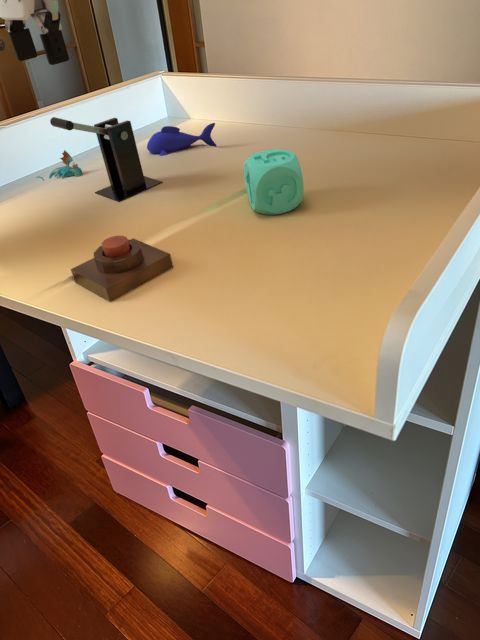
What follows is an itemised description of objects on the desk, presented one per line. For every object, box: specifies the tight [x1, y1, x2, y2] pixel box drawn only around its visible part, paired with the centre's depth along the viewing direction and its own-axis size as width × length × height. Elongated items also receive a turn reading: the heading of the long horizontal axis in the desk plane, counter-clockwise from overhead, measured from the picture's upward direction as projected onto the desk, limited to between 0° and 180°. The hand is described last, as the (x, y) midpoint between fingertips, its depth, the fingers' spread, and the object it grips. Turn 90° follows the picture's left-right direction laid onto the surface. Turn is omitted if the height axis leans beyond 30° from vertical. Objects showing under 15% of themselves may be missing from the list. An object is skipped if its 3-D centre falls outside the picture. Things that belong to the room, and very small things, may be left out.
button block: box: [70, 237, 174, 303], centre depth 80 cm, size 11×9×4 cm
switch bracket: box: [93, 117, 164, 203], centre depth 102 cm, size 10×8×13 cm
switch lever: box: [49, 116, 113, 140], centre depth 95 cm, size 12×5×2 cm, turn 136°
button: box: [101, 235, 130, 258], centre depth 78 cm, size 4×4×2 cm
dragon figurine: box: [35, 149, 83, 182], centre depth 114 cm, size 7×7×8 cm
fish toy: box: [146, 122, 217, 157], centre depth 118 cm, size 15×8×7 cm, turn 100°
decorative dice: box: [243, 148, 305, 216], centre depth 92 cm, size 8×8×8 cm
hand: (43, 60), depth 86 cm, fingers open, 9 cm apart
